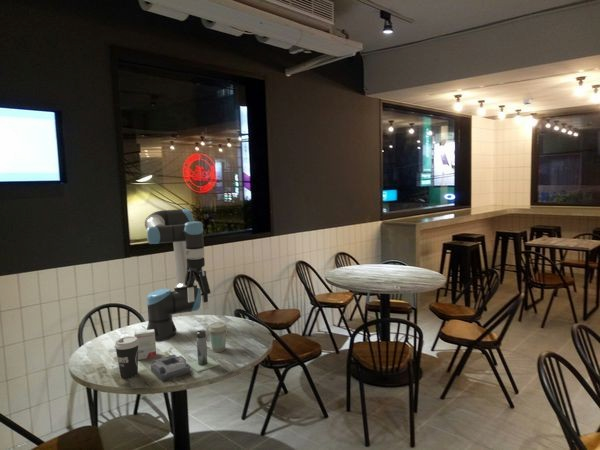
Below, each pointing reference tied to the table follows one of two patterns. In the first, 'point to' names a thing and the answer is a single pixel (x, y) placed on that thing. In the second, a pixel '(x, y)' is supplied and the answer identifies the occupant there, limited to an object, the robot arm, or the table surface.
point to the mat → (199, 368)
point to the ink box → (146, 344)
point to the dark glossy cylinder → (201, 347)
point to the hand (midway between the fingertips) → (198, 305)
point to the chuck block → (170, 367)
